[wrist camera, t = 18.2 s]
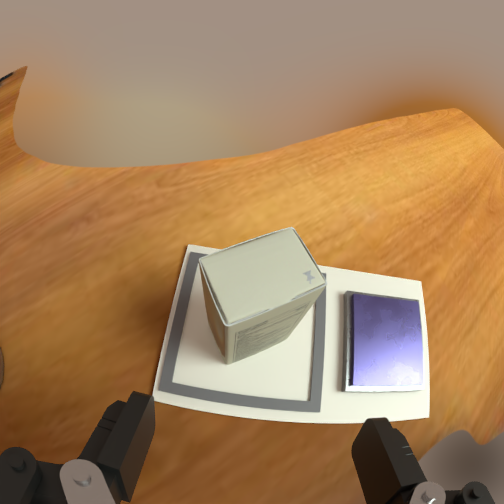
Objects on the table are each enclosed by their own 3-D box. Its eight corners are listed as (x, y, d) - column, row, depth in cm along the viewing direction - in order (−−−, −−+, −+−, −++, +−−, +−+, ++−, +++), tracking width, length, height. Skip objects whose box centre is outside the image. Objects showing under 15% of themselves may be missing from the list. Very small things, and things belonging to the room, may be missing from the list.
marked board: (152, 400, 22) (150, 399, 22) (188, 246, 31) (188, 242, 30) (426, 417, 23) (430, 417, 22) (419, 282, 32) (422, 280, 31)
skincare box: (267, 300, 28) (297, 222, 18) (287, 340, 26) (334, 282, 16) (203, 324, 26) (194, 254, 16) (222, 368, 24) (225, 327, 14)
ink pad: (341, 392, 24) (347, 390, 23) (343, 294, 29) (348, 288, 28) (418, 391, 24) (427, 388, 23) (414, 303, 30) (421, 297, 28)
